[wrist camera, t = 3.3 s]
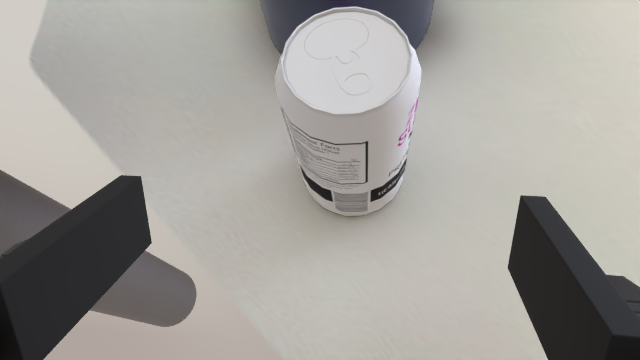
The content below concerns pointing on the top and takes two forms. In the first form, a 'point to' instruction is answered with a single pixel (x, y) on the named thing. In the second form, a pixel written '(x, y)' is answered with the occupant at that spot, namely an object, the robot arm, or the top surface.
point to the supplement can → (349, 106)
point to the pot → (302, 3)
